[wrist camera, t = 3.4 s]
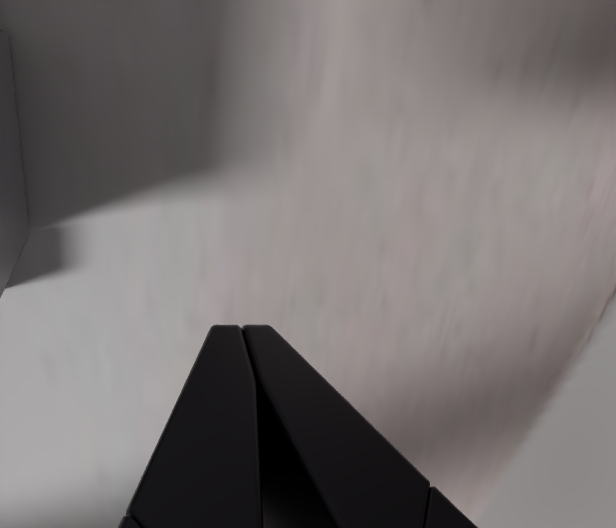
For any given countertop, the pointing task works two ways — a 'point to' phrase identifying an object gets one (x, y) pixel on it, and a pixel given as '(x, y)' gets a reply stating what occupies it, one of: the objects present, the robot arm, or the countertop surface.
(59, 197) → the countertop surface
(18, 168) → the dark grey stepped block
